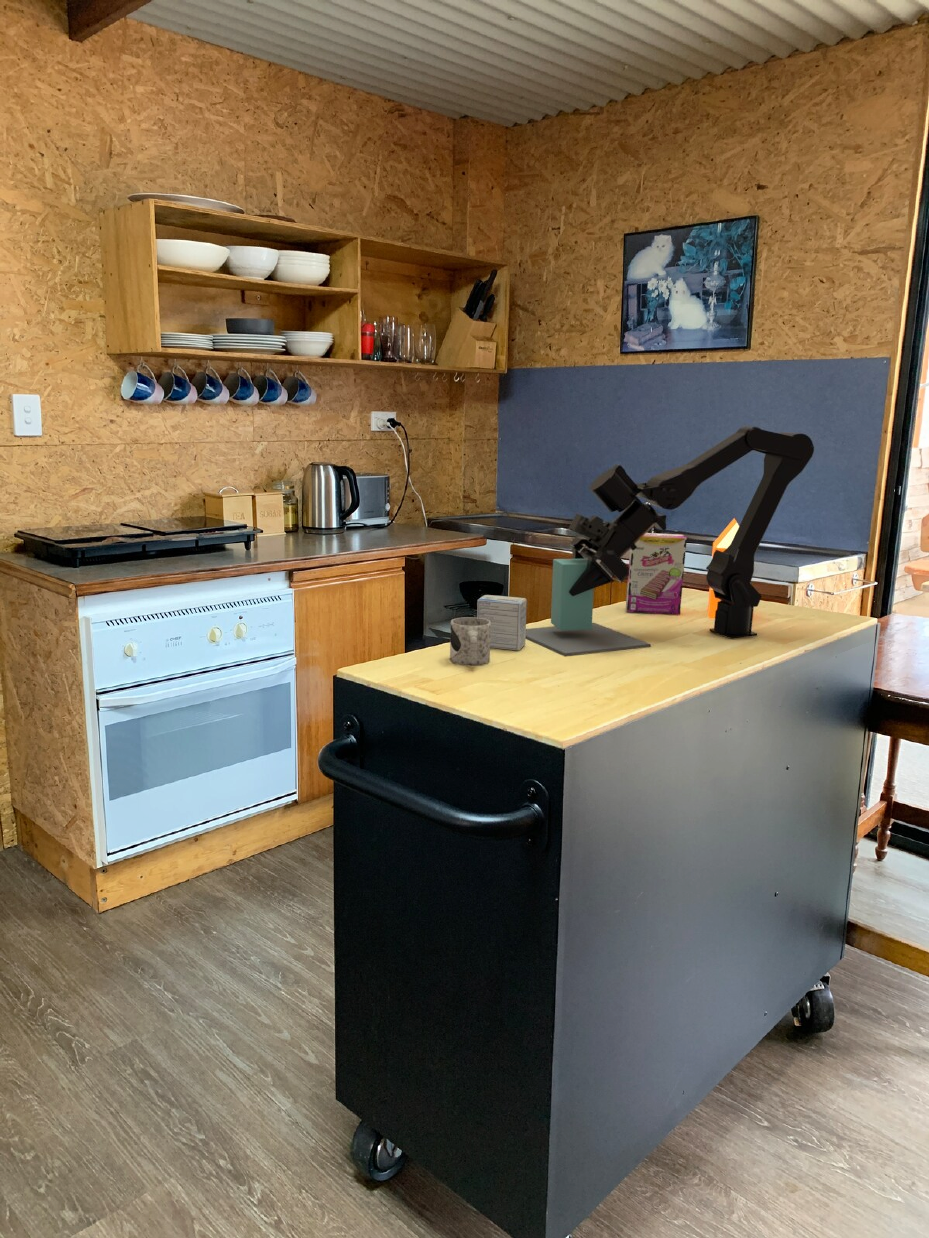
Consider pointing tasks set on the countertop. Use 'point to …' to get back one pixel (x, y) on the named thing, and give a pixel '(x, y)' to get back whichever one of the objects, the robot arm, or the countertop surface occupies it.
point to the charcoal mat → (583, 640)
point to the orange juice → (721, 545)
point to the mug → (470, 641)
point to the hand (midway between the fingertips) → (565, 590)
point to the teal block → (570, 596)
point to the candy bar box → (656, 574)
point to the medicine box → (504, 620)
